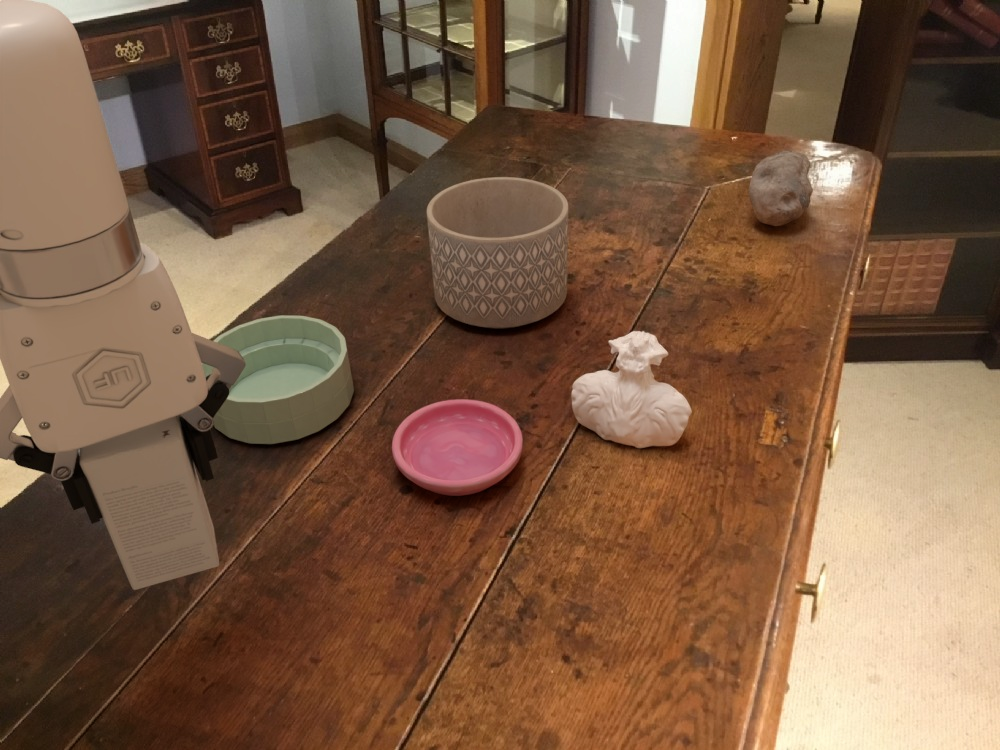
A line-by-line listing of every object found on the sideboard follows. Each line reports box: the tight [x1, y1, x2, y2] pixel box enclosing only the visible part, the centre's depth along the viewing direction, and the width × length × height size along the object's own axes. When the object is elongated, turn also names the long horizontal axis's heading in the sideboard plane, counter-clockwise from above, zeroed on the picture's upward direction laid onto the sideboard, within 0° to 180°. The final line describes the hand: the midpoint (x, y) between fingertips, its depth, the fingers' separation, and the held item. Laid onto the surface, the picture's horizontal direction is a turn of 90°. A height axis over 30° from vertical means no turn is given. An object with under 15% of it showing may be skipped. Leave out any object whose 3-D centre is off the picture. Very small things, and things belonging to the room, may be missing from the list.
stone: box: [747, 150, 814, 227], centre depth 119 cm, size 9×14×10 cm, turn 150°
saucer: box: [391, 398, 524, 497], centre depth 82 cm, size 12×12×3 cm
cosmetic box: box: [79, 415, 220, 591], centre depth 58 cm, size 6×4×12 cm
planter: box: [426, 176, 569, 330], centre depth 102 cm, size 16×16×13 cm
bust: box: [570, 330, 693, 449], centre depth 84 cm, size 12×8×11 cm
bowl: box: [202, 314, 355, 445], centre depth 90 cm, size 15×15×6 cm
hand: (149, 486), depth 57 cm, fingers closed on cosmetic box, 6 cm apart
